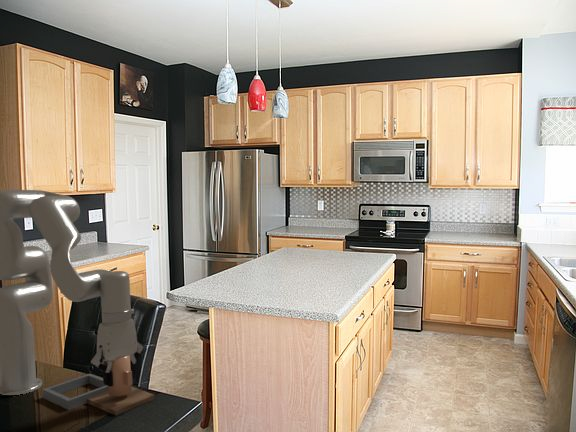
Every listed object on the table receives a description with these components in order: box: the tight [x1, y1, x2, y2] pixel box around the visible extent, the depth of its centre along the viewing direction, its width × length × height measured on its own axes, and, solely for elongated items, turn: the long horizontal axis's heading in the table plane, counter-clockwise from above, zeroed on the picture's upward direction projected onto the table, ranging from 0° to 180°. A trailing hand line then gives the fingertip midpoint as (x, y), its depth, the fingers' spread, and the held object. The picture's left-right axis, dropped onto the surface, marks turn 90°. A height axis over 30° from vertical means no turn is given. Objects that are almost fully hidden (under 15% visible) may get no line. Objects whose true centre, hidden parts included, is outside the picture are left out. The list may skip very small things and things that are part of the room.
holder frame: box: [42, 373, 108, 411], centre depth 135 cm, size 14×14×2 cm
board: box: [86, 386, 156, 416], centre depth 130 cm, size 14×12×1 cm
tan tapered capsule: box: [108, 355, 133, 396], centre depth 129 cm, size 6×9×10 cm, turn 53°
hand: (119, 380), depth 130 cm, fingers closed on tan tapered capsule, 6 cm apart
